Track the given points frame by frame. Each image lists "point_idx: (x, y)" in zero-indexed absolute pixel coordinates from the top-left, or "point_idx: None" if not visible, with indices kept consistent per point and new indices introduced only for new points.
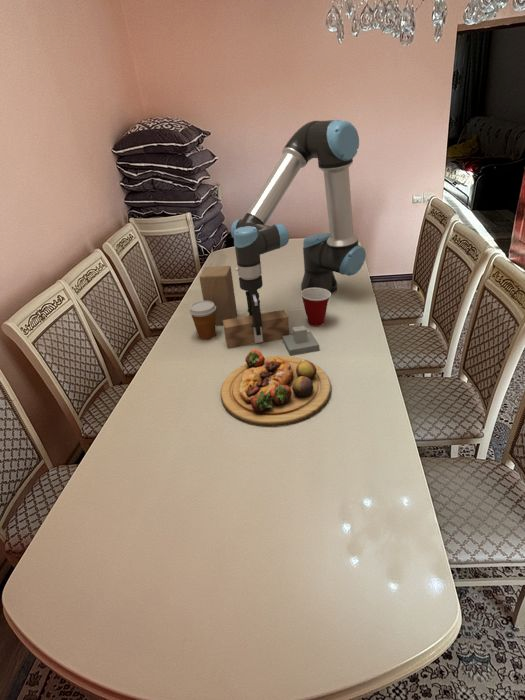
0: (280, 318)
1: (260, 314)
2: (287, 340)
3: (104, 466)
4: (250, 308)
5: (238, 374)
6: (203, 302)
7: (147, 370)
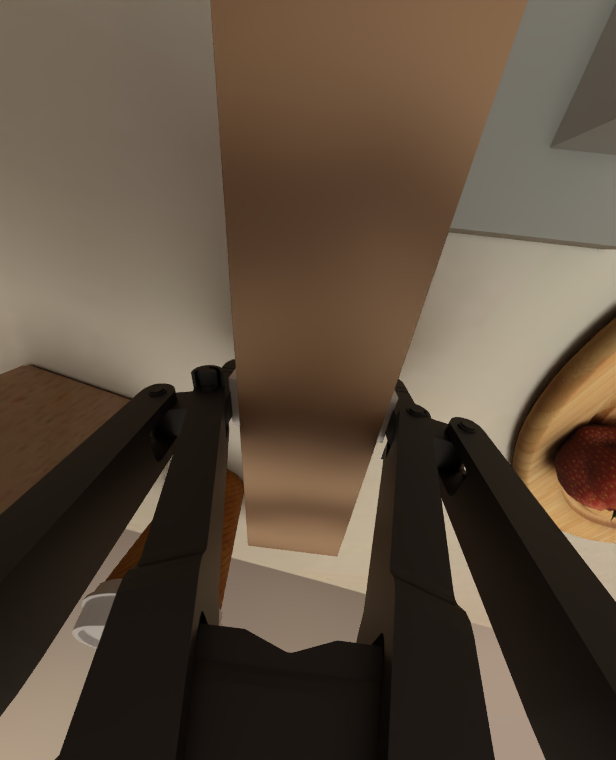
0: (460, 188)
1: (565, 545)
2: (521, 209)
3: None
4: (223, 490)
5: (563, 496)
6: (90, 630)
7: (337, 582)
